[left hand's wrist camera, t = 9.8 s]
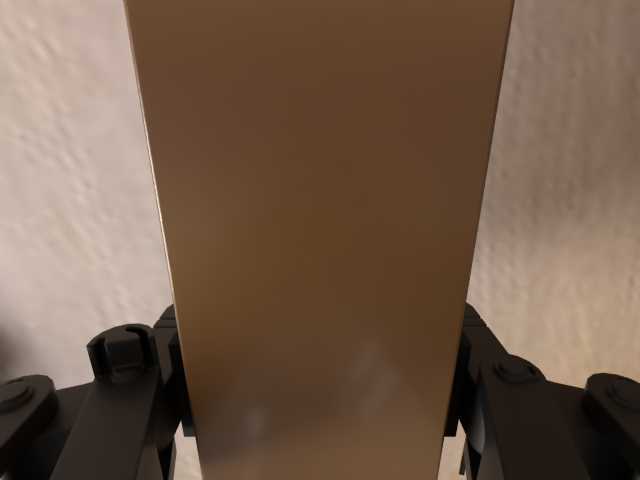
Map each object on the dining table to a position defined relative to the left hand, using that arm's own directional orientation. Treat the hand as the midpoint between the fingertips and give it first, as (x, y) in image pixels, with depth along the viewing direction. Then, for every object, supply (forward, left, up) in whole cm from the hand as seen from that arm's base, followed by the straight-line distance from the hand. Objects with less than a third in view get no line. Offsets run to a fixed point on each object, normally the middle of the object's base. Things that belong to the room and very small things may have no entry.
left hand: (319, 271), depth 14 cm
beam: (+24, 0, -1) cm, 24 cm away
